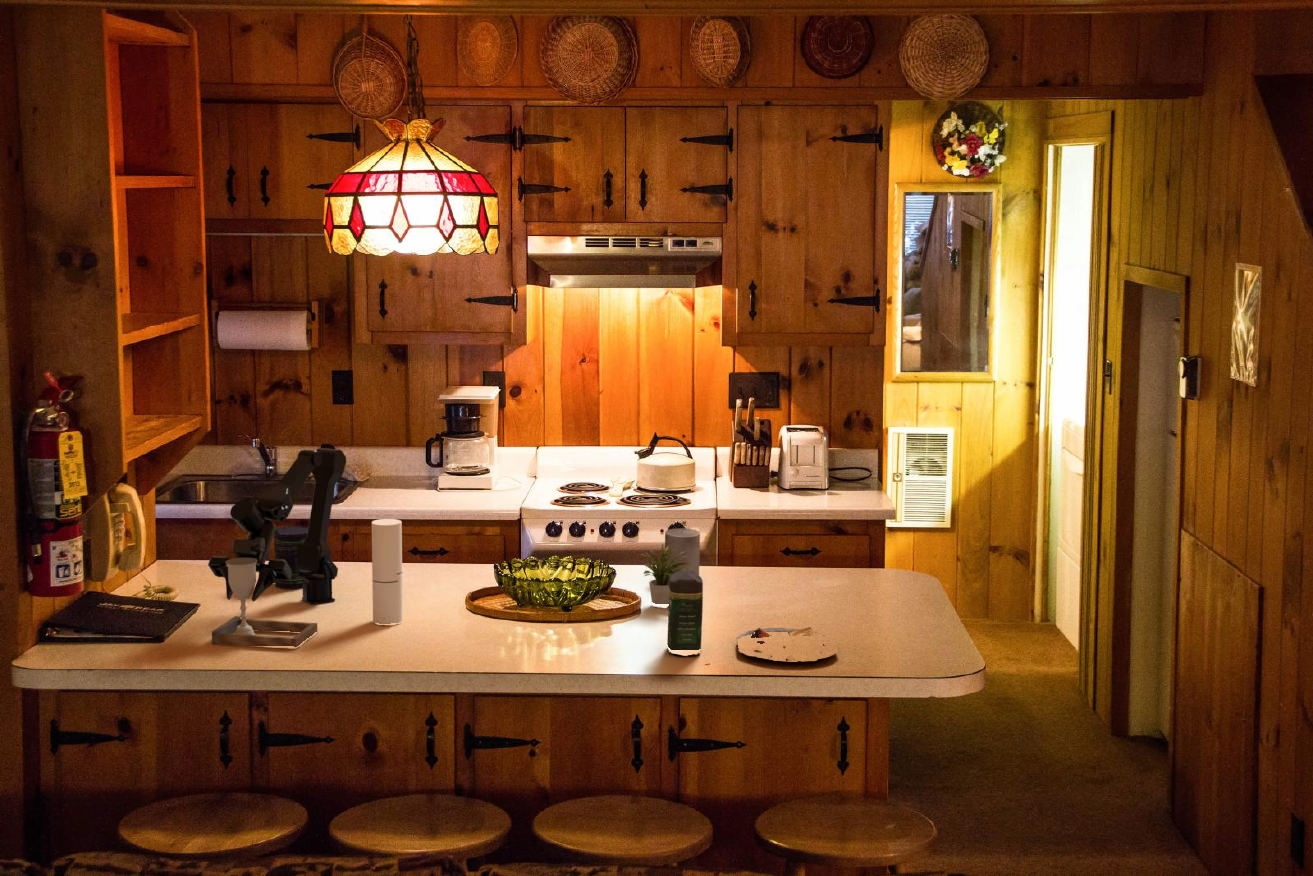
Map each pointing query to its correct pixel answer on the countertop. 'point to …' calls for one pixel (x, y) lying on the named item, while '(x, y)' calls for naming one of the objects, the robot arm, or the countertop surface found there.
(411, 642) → the countertop surface
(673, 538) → the pillar candle
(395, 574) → the cylindrical container
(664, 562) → the house plant
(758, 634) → the food plate
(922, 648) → the countertop surface
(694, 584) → the coffee jar
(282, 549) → the storage jar
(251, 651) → the countertop surface
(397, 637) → the countertop surface
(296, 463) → the robot arm
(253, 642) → the rectangular frame
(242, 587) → the chalice
